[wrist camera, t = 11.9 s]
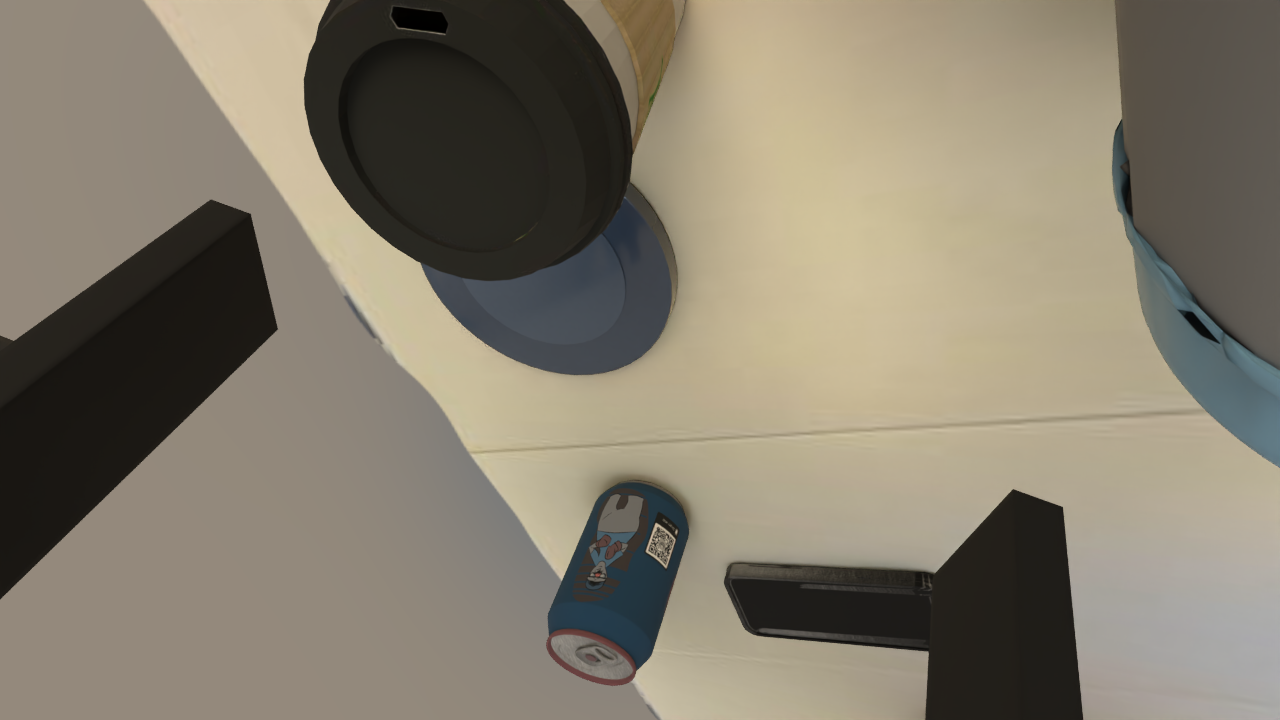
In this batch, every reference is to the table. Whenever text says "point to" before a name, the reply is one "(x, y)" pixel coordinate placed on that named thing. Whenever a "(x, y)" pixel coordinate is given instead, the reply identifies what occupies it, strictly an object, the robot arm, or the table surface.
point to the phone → (833, 604)
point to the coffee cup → (486, 121)
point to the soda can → (618, 583)
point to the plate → (577, 299)
